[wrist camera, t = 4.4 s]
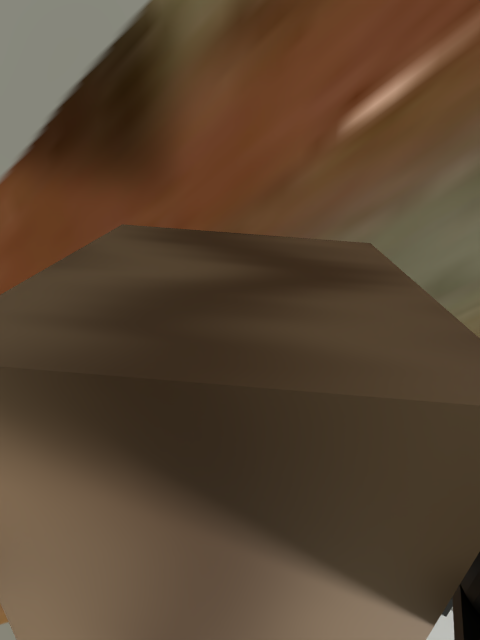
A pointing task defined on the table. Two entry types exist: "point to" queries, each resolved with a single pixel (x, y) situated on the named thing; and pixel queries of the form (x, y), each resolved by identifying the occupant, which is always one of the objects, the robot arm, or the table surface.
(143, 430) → the walnut block
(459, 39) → the table surface
